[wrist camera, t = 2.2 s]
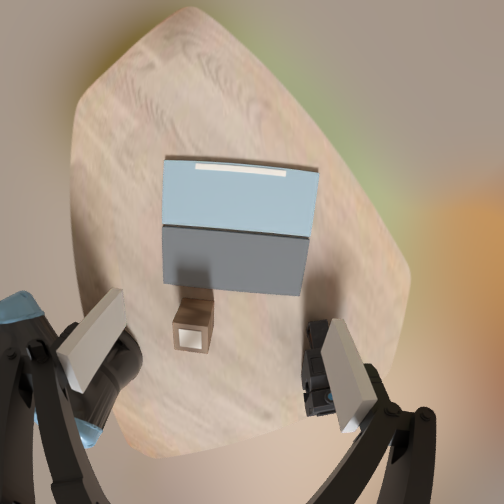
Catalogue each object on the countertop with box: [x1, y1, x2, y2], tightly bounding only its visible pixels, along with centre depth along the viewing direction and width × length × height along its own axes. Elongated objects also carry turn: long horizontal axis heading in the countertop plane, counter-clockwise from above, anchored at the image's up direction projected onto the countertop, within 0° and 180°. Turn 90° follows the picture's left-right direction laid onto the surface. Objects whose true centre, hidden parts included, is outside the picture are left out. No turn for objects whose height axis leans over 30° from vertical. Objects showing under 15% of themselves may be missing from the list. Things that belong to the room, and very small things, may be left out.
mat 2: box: [162, 226, 310, 296], centre depth 39 cm, size 21×9×1 cm, turn 85°
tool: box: [301, 320, 336, 417], centre depth 42 cm, size 6×19×15 cm, turn 8°
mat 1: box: [162, 160, 319, 237], centre depth 36 cm, size 21×9×1 cm, turn 85°
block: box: [172, 298, 214, 354], centre depth 39 cm, size 5×5×7 cm
